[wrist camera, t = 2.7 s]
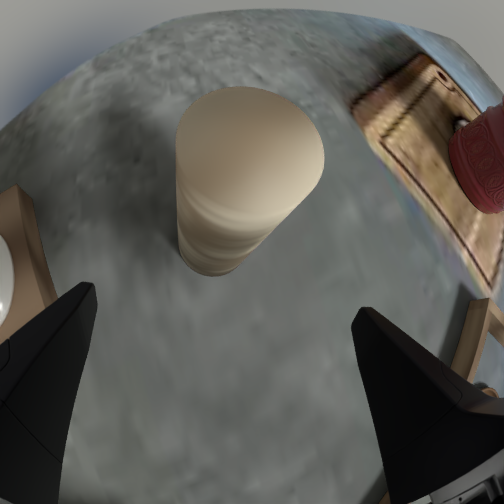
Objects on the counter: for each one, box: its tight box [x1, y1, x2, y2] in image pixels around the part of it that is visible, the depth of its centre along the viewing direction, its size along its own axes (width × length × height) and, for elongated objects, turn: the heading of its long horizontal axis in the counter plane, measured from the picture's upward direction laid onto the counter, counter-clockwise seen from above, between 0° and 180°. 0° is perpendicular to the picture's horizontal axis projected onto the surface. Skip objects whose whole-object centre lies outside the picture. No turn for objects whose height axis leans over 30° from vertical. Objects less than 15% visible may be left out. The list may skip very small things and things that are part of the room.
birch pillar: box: [176, 87, 324, 277], centre depth 15 cm, size 5×5×13 cm
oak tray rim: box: [379, 298, 504, 504], centre depth 22 cm, size 26×26×3 cm
